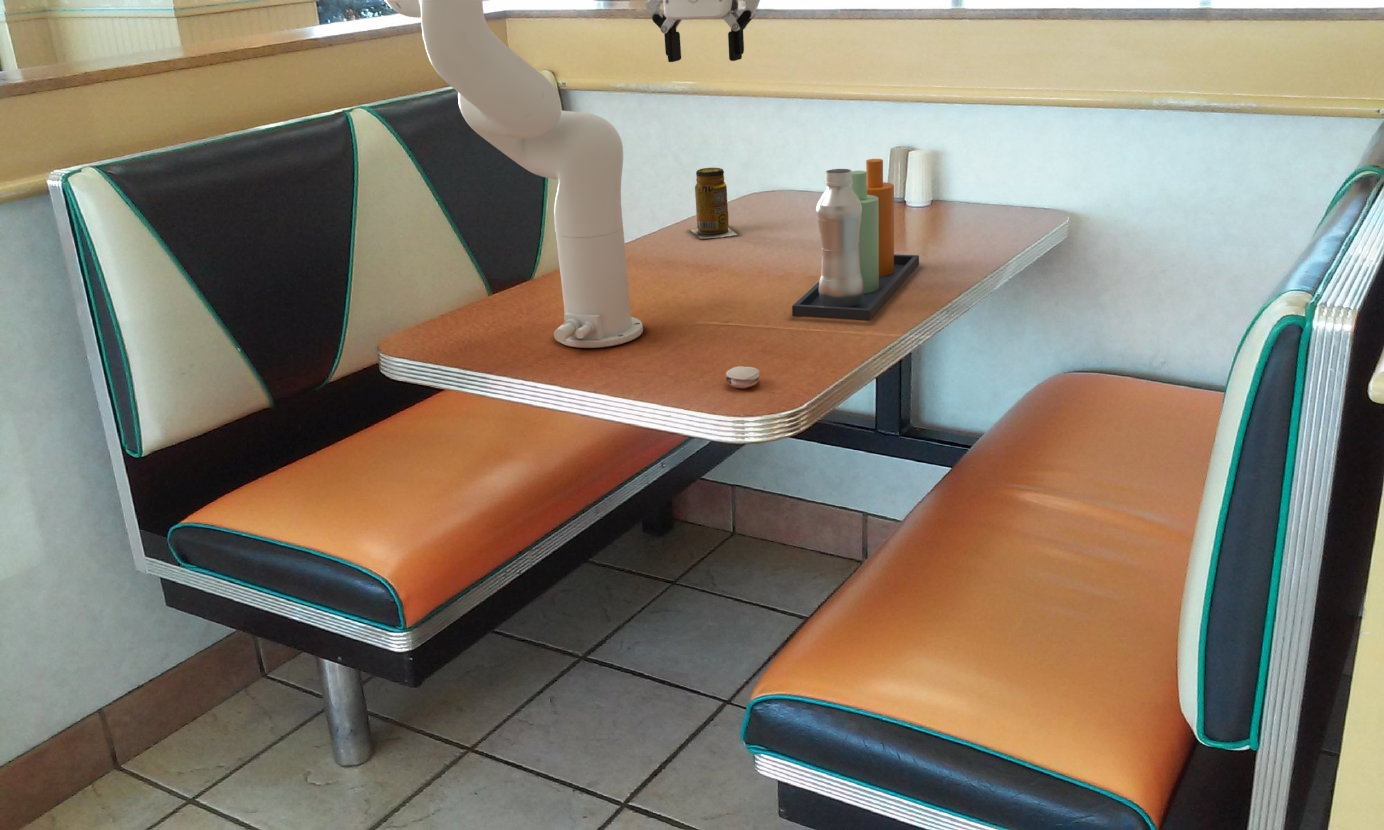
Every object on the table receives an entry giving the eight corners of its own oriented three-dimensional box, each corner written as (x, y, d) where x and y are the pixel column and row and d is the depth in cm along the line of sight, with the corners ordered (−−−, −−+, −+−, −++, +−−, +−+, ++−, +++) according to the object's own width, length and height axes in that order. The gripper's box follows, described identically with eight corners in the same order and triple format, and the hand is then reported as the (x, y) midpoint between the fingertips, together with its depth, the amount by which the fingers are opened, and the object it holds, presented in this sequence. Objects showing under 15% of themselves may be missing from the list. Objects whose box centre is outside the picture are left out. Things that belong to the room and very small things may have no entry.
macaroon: (720, 387, 148) (718, 368, 147) (744, 375, 151) (744, 357, 150) (746, 394, 145) (745, 375, 144) (771, 381, 148) (770, 363, 147)
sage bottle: (873, 294, 178) (872, 176, 171) (835, 292, 181) (832, 176, 174) (883, 284, 183) (882, 168, 176) (846, 282, 186) (844, 168, 179)
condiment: (726, 226, 229) (723, 165, 225) (737, 235, 221) (734, 172, 217) (690, 230, 228) (686, 169, 223) (700, 240, 220) (695, 176, 216)
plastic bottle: (863, 312, 170) (861, 175, 163) (816, 312, 172) (812, 176, 164) (865, 299, 176) (864, 166, 169) (820, 299, 178) (817, 167, 170)
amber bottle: (888, 277, 186) (888, 164, 179) (852, 276, 189) (850, 163, 182) (898, 267, 191) (898, 157, 184) (862, 266, 194) (861, 156, 187)
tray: (869, 324, 167) (869, 310, 166) (792, 319, 171) (791, 305, 171) (919, 267, 193) (919, 255, 192) (850, 264, 197) (850, 252, 196)
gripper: (630, -63, 164) (640, 64, 170) (745, -71, 157) (750, 62, 163) (654, -64, 170) (662, 59, 176) (765, -72, 163) (770, 56, 169)
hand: (704, 60), depth 170 cm, fingers open, 9 cm apart
